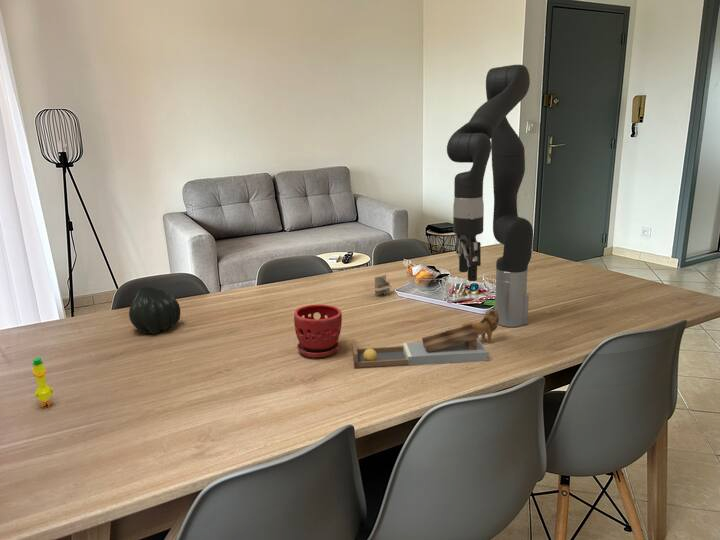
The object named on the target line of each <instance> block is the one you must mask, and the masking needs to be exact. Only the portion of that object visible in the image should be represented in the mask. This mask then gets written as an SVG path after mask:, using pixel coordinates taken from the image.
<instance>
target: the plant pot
mask: <svg viewBox="0 0 720 540" xmlns="http://www.w3.org/2000/svg"><path fill="white" fill-rule="evenodd" d="M317 313H318V314H319V315H320V317H319V318H315V316H314V315H315V314H317ZM342 314H343V313H342V310H341V309H340V308H339V307H336V306H334V305H329V304H309V305H304V306H301V307H298V308H297V309H296V310H295V311H294V313H293V321H294V331H295V334H296V339H297V340H298V343H297V345H296V348H297V351H298V353H300V354H301V355H303V356H305V357H308V358H324V357H328V356H330V355H333V354H334V353H336V352H337V351H338V349H339V346H340V344H339V342H338V340H339V338H340V336H341V335H340V334H341V330H342V325H343V323H342V322H343V321H342V320H343V319H342V318H343V316H342ZM309 315H310V316H309ZM303 316H304V317H303Z"/></svg>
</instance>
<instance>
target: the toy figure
mask: <svg viewBox="0 0 720 540" xmlns="http://www.w3.org/2000/svg"><path fill="white" fill-rule="evenodd" d="M32 361H33V363H31V364H32V375H33V377H34V379H35V380H36V383H37V385H38V387H37V388H36V390H35V392H34V395H35V397H36V398H37V400H39V401H40V406H41V405H42V406H46V407H47V405H50V403H51V400H50V398H51V396H52V394H54V389H53V387H50V386H49V385H47V376H46V374H47V369H46V368H45V364H44V361H43V360H42V358H41V357H36V358H35V357H34V358H33V359H32ZM46 404H47V405H46ZM42 406H41V407H42ZM50 406H51V405H50Z"/></svg>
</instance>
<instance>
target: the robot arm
mask: <svg viewBox="0 0 720 540" xmlns="http://www.w3.org/2000/svg"><path fill="white" fill-rule="evenodd" d="M530 77H531V76H530V73H529V70H528V68H527V66H525V65H523V64H511V65H504V66H503V65H502V66H497V67H492V68H490V69H489V70H488V71H487V74H486V77H485V93H486V95H485V96H486V101H485V102H484V103H482V104H481V106H479V107H478V108H477V109H476V111H475V112H474V113H473V114H472V117H471V118H470V119H469V121H468V122H466V123H465V124H464V125H462V126H461V127H460V128H458V129H457V130H456V131H454V132H453V134H452V135H450V137H449V139H448V142H447V145H446V153H447V156H448V158H449V159H450V160H451V162H454V163H461V164H462V163H468V164H469V163H471V164H472V166H471V168H470V170H468V171H463V172H459V173H457V174H455V177H454V183H453V185H454V190H453V191H454V193H453V196H454V199H453V204H452V205H453V207H452V210H453V213H452V214H453V215H452V216H453V217H452V219H453V223H452V224H453V226H452V227H453V228H452V231H453V233H454V234H455V235H456V251H455V252H456V255H457V258H458V272H460V273H467V281H469V282H476V281H477V280H478V267H480V266H481V264H482V263H481V261H482V260H481V259H482V258H481V257H482V255H481V248H482V247H481V244H482V243H481V242H480V241H478V240H477V235H481V234H483V233H484V218H485V217H484V213H485V211H484V209H485V207H484V206H485V205H484V178H485V173H486V169H487V165H488V162H489V159H490V157H491V169H492V185H493V188H492V189H493V216H492V217H493V219H492V232H493V237H494V239H495V240H496V241H497V242H498V243H499V244H502V245H503V252H502V256H500V257H499V258H497V259H496V262H495V263H496V264H495V266H496V267H495V289H494V291H495V292H494V293H495V295H494V310H496V311H498V314H499V323H498V326H502V327H506V328H507V327H509V328H517V327H521V326H524V325H528V320H529V318H528V317H529V300H530V299H529V298H530V295H529V293H527V288H528V286H527V285H528V269H529V268H528V267H529V263H530V261H531V259H532V253H533V243H534V241H533V240H534V230H533V226H532V223H531V222H530V221H529V220H528V219H526V218H523V217H521V216H519V215H518V204H517V203H518V202H517V201H518V200H517V199H518V193H519V189H520V187H521V185H522V182H523V180H524V175H525V172H526V157H525V155H526V153H525V151H526V150H525V146H524V143H523V142H522V140H521V139H520V137H519V135H518V133H516V131H515V130H514V129H513V127H512V126H511V124H510V122H509V120H508V117H507V116H508V115H509V113H510V112H511V111H512V110H514V108H516V106H517V105H518V104H519V103H520V102H521V101H522V100H523V99H524V98H525V97H526V96H527V94H528V92H529V89H530V84H531V81H530ZM490 155H491V156H490Z"/></svg>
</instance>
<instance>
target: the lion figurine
mask: <svg viewBox="0 0 720 540" xmlns="http://www.w3.org/2000/svg"><path fill="white" fill-rule="evenodd" d="M498 323H499V314H498V311H496V310H495V309H492V308H491V309H489V310H487V311H486V312H485V316H483V319H482V320H481V321H475V322H474V321H473V322H472V321H465V322H464V323H462V324H461V326H460V327H462V326H465V325H468V324H472V327H473V330H474V331H477V333H478V336H480V335H481V338H480V341H487V343H488V344H493V341H492V340H491V339H492V334H493V332H494V331H496V329H497V328H498V326H499V325H498ZM486 335H487V338H486Z"/></svg>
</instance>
